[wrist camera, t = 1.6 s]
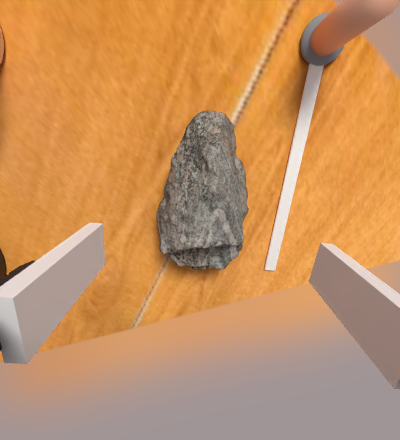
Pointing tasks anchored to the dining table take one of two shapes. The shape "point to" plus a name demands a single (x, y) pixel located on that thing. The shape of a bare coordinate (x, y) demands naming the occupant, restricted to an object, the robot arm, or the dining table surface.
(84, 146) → the dining table surface
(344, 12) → the crank handle
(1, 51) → the mug
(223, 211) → the rock
